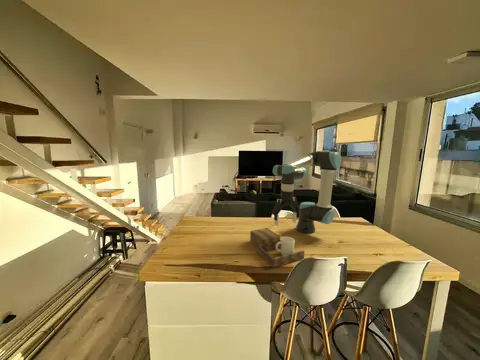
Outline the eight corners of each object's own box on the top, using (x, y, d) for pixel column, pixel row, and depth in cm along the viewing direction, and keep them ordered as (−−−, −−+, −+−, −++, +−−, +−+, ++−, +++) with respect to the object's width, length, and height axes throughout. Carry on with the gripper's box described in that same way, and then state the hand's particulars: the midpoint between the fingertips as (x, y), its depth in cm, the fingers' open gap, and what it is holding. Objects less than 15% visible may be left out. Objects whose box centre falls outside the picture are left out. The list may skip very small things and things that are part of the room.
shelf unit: (272, 236, 164) (272, 226, 163) (304, 258, 134) (304, 246, 132) (245, 242, 154) (245, 231, 153) (272, 267, 124) (273, 254, 122)
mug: (276, 258, 134) (277, 242, 132) (273, 251, 142) (274, 236, 140) (295, 257, 135) (296, 242, 133) (291, 250, 143) (292, 236, 141)
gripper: (299, 187, 140) (297, 218, 144) (266, 190, 129) (265, 224, 133) (307, 190, 133) (304, 222, 137) (273, 193, 123) (272, 228, 126)
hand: (285, 223), depth 135 cm, fingers open, 13 cm apart
